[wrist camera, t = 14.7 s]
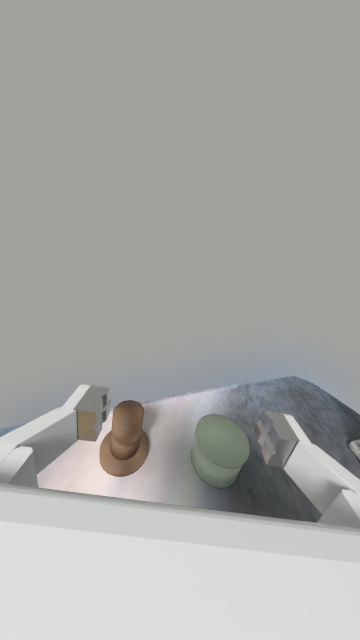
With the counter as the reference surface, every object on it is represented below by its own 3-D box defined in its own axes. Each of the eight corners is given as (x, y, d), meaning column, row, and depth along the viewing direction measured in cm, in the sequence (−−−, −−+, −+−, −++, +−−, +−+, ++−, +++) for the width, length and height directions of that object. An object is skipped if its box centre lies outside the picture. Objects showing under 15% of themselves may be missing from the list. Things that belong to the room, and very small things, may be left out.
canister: (216, 429, 40) (223, 409, 38) (250, 474, 33) (261, 451, 31) (180, 445, 35) (186, 422, 33) (210, 502, 28) (220, 477, 26)
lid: (139, 423, 38) (144, 389, 35) (154, 463, 32) (161, 424, 29) (96, 437, 34) (98, 399, 31) (103, 486, 27) (105, 444, 24)
